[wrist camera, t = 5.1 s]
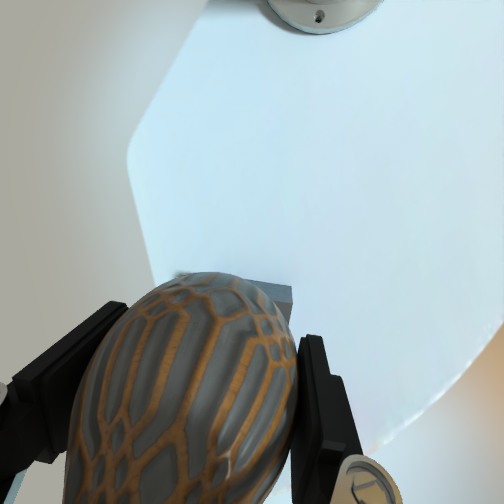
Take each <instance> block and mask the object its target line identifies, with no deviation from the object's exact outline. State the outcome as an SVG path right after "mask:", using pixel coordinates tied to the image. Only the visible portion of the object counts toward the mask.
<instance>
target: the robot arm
mask: <svg viewBox="0 0 504 504" xmlns="http://www.w3.org/2000/svg"><path fill="white" fill-rule="evenodd" d="M267 1H268V3H269V4H270V6H271V8H272V9H273V10H274V11H275V12H276V13H277V14H278V15H279V16H280V18H281V19H283V20H284V21H285V22H287V23H288V24H290V25H291V26H293V27H295V28H297V29H300V30H302V31H305V32H310V33H317V34H324V33H334V32H337V31H340V30H344V29H347V28H349V27H351V26H353V25H355V24H356V23H358V22H360V21H362V20H363V19H364V18H366V17H367V16H368V15H369V14H371V13H372V12H373V11H374V10H376V8H377V7H378V6H379V5H380V4H381V3H382V2H383V1H384V0H267ZM317 19H319V20H320V21H321V23H317V22H315V21H316V20H317ZM128 309H129V308H128V307H127V305H126V304H125V303H122V302H116V301H109V302H108V303H107V304H105V305H104V306H103V307H101V308H100V309H99V310H97V311H96V312H95V313H94V314H93V315H91V316H90V317H89V318H87V319H86V320H85V321H83V322H82V323H81V324H80V325H78V326H77V327H76V328H74V329H73V330H72V331H71V332H69V333H68V334H67V335H66V336H64V337H63V338H62V339H60V340H59V341H58V342H57V343H55V344H54V345H53V346H51V347H50V348H49V349H47V350H46V351H45V352H44V353H42V354H41V355H40V356H39V357H37V358H36V359H35V360H33V361H32V362H31V363H30V364H28V365H27V366H26V367H25V368H23V369H22V370H21V371H19V372H18V373H17V374H15V375H14V376H13V377H12V379H13V381H12V382H11V383H9V384H8V385H7V386H6V385H5V384H3V383H1V382H0V504H13V503H14V501H15V498H16V496H17V493H18V491H19V488H20V486H21V483H22V481H23V478H24V476H25V473H26V471H27V469H28V467H29V466H30V465H31V464H32V463H33V462H34V460H35V461H39V462H43V463H48V464H52V463H53V462H54V460H55V459H56V458H57V456H58V455H59V453H63V452H65V451H66V450H67V442H68V432H69V424H70V416H71V411H72V407H73V403H74V398H75V395H76V392H77V390H78V387H79V384H80V381H81V379H82V377H83V374H84V372H85V370H86V368H87V366H88V364H89V362H90V360H91V358H92V356H93V354H94V353H95V351H96V349H97V348H98V346H99V345H100V343H101V341H102V340H103V338H104V337H105V335H106V334H107V333H108V331H109V330H110V329H111V327H112V326H113V325H114V324H115V322H116V321H117V320H118V319H119V318H120V317H121V316H122V315H123V314H124V313H125V312H126V311H127V310H128ZM297 356H298V362H299V371H300V390H301V393H300V406H299V414H298V419H297V425H296V430H295V434H294V437H293V441H292V445H291V448H290V453H291V491H292V503H293V504H403V502H402V498H401V495H400V492H399V489H398V487H397V485H396V483H395V482H394V481H393V478H392V477H391V476H390V475H389V473H388V472H387V471H386V470H385V469H384V468H383V467H382V466H381V465H380V464H378V463H377V462H376V461H375V460H373V459H371V458H369V457H367V456H364V455H363V451H362V448H361V444H360V441H359V437H358V434H357V430H356V426H355V423H354V419H353V416H352V412H351V408H350V405H349V401H348V398H347V394H346V391H345V387H344V383H343V380H342V378H341V377H340V376H337V375H332V374H330V370H329V366H328V361H327V357H326V352H325V348H324V344H323V339H322V337H321V336H316V335H310V334H307V335H306V338H305V337H301V340H300V344H299V348H298V353H297Z"/></svg>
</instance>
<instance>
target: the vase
mask: <svg viewBox="0 0 504 504" xmlns="http://www.w3.org/2000/svg"><path fill="white" fill-rule="evenodd" d="M300 393H301V390H300V371H299V362H298V356H297V351H296V346H295V342H294V339H293V336H292V334H291V331H290V329H289V326H288V324H287V322H286V320H285V318H284V316H283V315H282V313H281V312H280V310H279V308H278V307H277V306H276V304H275V303H274V302H273V301H272V300H271V299H270V298H269V297H268V296H267V295H266V294H265V293H264V292H263V291H262V290H261V289H260V288H258V287H257V286H255V285H254V284H252V283H251V282H249V281H247V280H245V279H242V278H240V277H237V276H234V275H231V274H226V273H220V272H200V273H193V274H189V275H185V276H181V277H178V278H175V279H173V280H170V281H168V282H166V283H164V284H162V285H160V286H158V287H156V288H155V289H153V290H152V291H150V292H149V293H147V294H146V295H145V296H143V297H142V298H141V299H140V300H139V301H137V302H136V303H135V304H134V305H132V306H131V307H130V308H129V309H128V310H127V311H126V312H125V313H124V314H123V315H122V316H121V317H120V318H119V319H118V320H117V321H116V322H115V324H114V325H113V326H112V327H111V329H110V330H109V331H108V333H107V334H106V335H105V337H104V338H103V340H102V341H101V343H100V345H99V346H98V348H97V349H96V351H95V353H94V354H93V356H92V358H91V360H90V362H89V364H88V366H87V368H86V370H85V372H84V374H83V377H82V379H81V381H80V384H79V387H78V390H77V392H76V395H75V398H74V403H73V407H72V411H71V416H70V424H69V432H68V442H67V452H66V463H65V477H64V489H63V500H62V504H263V502H264V501H265V499H266V498H267V496H268V495H269V493H270V492H271V490H272V489H273V487H274V485H275V483H276V482H277V480H278V478H279V476H280V474H281V472H282V470H283V467H284V465H285V462H286V460H287V457H288V454H289V451H290V448H291V445H292V441H293V437H294V434H295V430H296V425H297V419H298V414H299V406H300Z"/></svg>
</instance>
